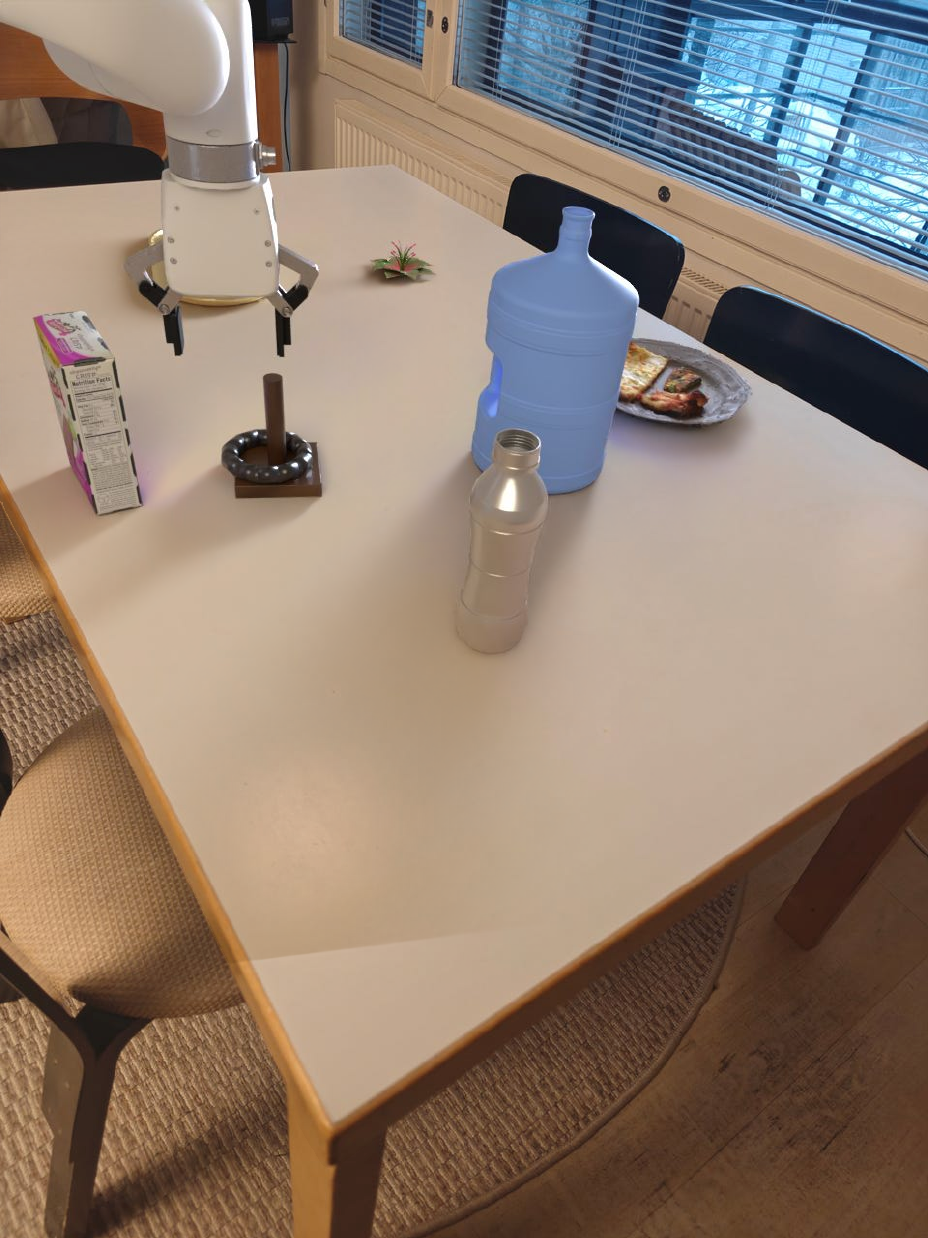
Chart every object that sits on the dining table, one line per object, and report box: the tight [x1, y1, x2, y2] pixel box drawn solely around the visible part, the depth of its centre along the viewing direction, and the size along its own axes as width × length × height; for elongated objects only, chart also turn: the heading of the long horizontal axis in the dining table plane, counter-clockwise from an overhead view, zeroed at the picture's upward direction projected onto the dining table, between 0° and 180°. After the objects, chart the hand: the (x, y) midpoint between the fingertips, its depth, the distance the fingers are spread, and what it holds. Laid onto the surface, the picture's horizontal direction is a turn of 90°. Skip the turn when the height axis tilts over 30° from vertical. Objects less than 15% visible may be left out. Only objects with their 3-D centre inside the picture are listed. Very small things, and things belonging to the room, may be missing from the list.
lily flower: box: [369, 240, 437, 281], centre depth 144 cm, size 12×12×5 cm
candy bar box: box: [32, 310, 144, 517], centre depth 85 cm, size 11×5×16 cm, turn 32°
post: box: [233, 372, 323, 499], centre depth 91 cm, size 9×9×12 cm
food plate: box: [615, 337, 753, 429], centre depth 118 cm, size 25×23×4 cm
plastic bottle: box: [454, 429, 550, 654], centre depth 71 cm, size 6×7×20 cm
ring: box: [220, 428, 313, 484], centre depth 93 cm, size 10×10×2 cm
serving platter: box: [148, 228, 264, 307], centre depth 138 cm, size 19×35×2 cm, turn 17°
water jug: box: [470, 206, 640, 495], centre depth 93 cm, size 16×16×28 cm
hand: (230, 350), depth 85 cm, fingers open, 9 cm apart
